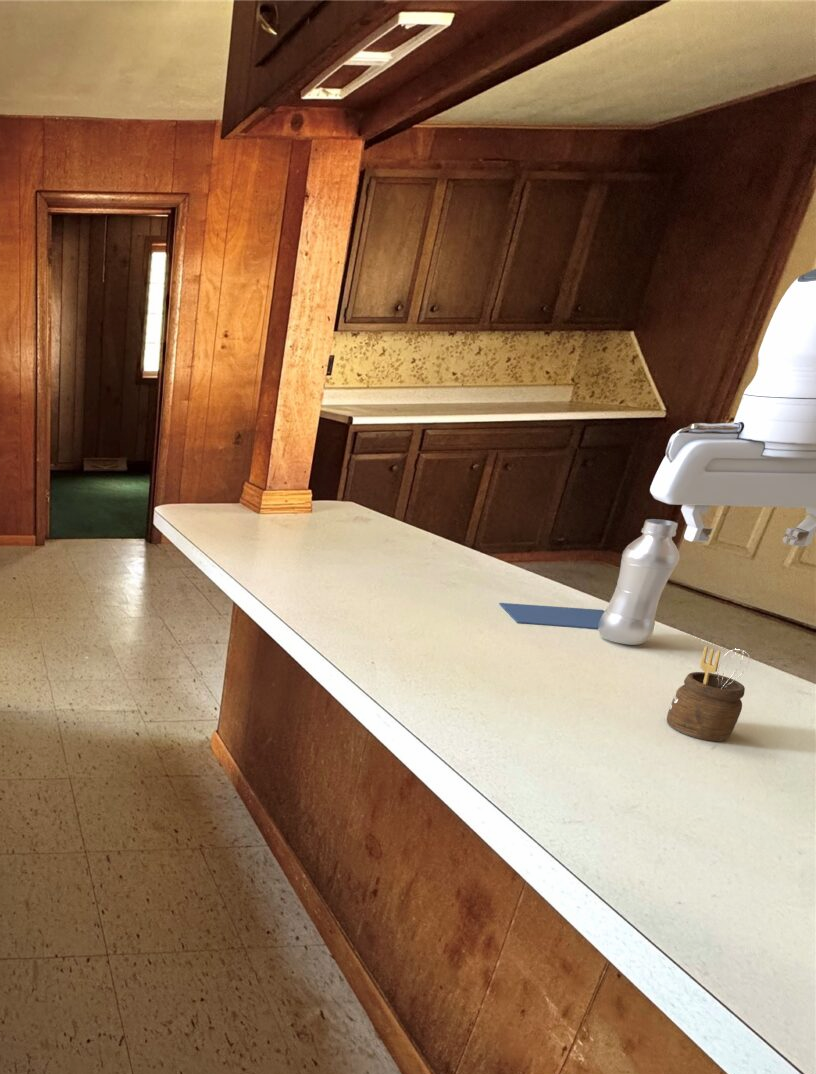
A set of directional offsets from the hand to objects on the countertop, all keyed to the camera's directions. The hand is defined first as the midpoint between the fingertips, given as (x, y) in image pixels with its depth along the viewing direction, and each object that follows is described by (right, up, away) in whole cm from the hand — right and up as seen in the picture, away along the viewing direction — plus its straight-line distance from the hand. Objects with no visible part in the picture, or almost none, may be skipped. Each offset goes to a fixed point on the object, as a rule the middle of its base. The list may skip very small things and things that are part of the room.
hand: (744, 542), depth 78 cm
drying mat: (+10, -10, +39) cm, 41 cm away
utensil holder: (0, -24, +6) cm, 24 cm away
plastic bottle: (+12, -14, +29) cm, 35 cm away
